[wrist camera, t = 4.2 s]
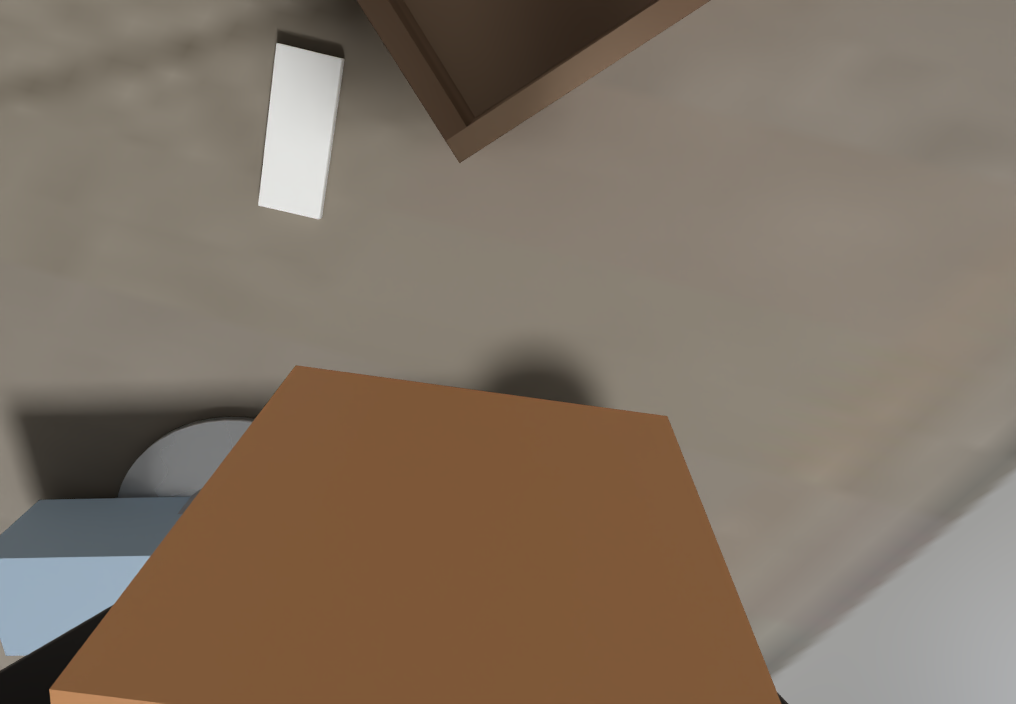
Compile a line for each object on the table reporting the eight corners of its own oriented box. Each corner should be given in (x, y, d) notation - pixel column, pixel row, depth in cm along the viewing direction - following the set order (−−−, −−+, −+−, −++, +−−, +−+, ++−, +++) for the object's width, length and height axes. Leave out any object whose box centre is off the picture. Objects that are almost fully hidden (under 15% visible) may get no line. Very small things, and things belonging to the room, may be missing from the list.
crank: (69, 602, 18) (-11, 696, 16) (34, 483, 17) (-57, 563, 14) (614, 593, 18) (630, 688, 15) (616, 471, 17) (633, 550, 14)
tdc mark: (322, 217, 15) (319, 219, 15) (261, 203, 15) (258, 205, 15) (344, 58, 14) (342, 58, 14) (280, 43, 14) (276, 42, 14)
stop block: (281, 661, 10) (89, 1134, 5) (295, 365, 8) (48, 688, 4) (599, 701, 10) (657, 1194, 5) (667, 416, 8) (813, 784, 4)
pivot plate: (232, 673, 19) (228, 681, 19) (66, 496, 18) (59, 501, 17) (429, 570, 18) (428, 576, 18) (271, 368, 16) (268, 372, 16)
